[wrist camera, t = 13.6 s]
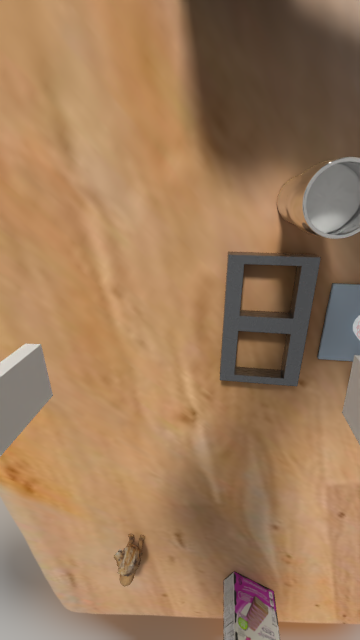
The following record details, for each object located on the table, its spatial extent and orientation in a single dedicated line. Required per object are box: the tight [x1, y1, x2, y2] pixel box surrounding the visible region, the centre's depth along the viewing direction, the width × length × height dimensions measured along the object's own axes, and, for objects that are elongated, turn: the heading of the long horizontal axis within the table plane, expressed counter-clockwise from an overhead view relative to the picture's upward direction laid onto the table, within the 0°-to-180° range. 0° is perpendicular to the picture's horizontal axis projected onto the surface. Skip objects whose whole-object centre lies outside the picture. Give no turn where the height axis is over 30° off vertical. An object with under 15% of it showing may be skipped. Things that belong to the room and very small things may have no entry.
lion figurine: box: [114, 534, 145, 586], centre depth 67 cm, size 15×5×9 cm, turn 177°
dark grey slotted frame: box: [220, 252, 321, 386], centre depth 45 cm, size 20×12×2 cm, turn 179°
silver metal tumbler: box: [277, 157, 360, 239], centre depth 33 cm, size 7×7×15 cm
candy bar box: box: [224, 572, 280, 640], centre depth 63 cm, size 11×5×16 cm, turn 62°
